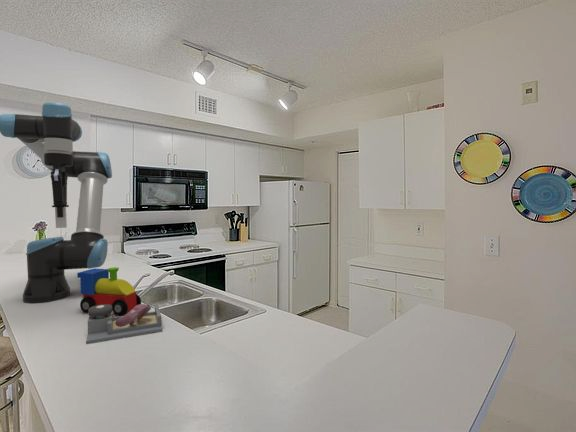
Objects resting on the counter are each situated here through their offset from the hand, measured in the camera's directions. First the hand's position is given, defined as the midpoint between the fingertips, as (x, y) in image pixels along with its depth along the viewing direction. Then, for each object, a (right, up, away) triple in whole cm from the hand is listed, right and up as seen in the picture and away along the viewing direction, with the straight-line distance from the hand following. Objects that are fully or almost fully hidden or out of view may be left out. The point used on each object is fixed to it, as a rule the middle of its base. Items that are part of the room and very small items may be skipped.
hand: (61, 227), depth 106 cm
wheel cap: (+18, -29, -10) cm, 35 cm away
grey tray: (+24, -30, -7) cm, 39 cm away
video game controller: (+26, -29, -6) cm, 39 cm away
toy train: (+11, -29, +8) cm, 32 cm away
